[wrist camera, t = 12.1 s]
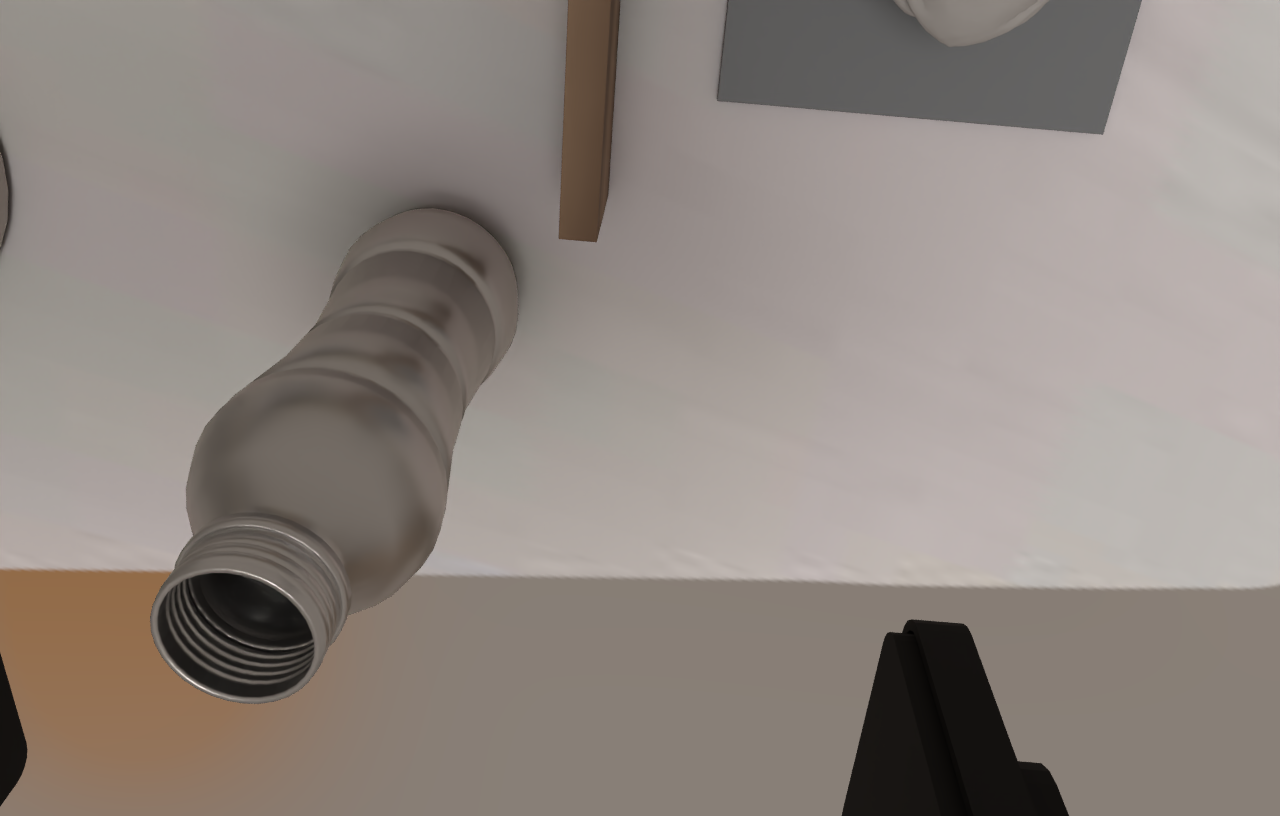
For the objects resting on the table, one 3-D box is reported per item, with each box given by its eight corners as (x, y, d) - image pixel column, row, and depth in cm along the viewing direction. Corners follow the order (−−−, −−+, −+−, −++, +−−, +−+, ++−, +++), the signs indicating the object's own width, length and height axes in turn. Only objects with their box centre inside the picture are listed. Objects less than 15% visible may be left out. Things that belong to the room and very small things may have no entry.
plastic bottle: (547, 220, 38) (417, 548, 20) (507, 379, 41) (365, 783, 23) (371, 169, 37) (80, 462, 19) (345, 335, 40) (74, 715, 23)
